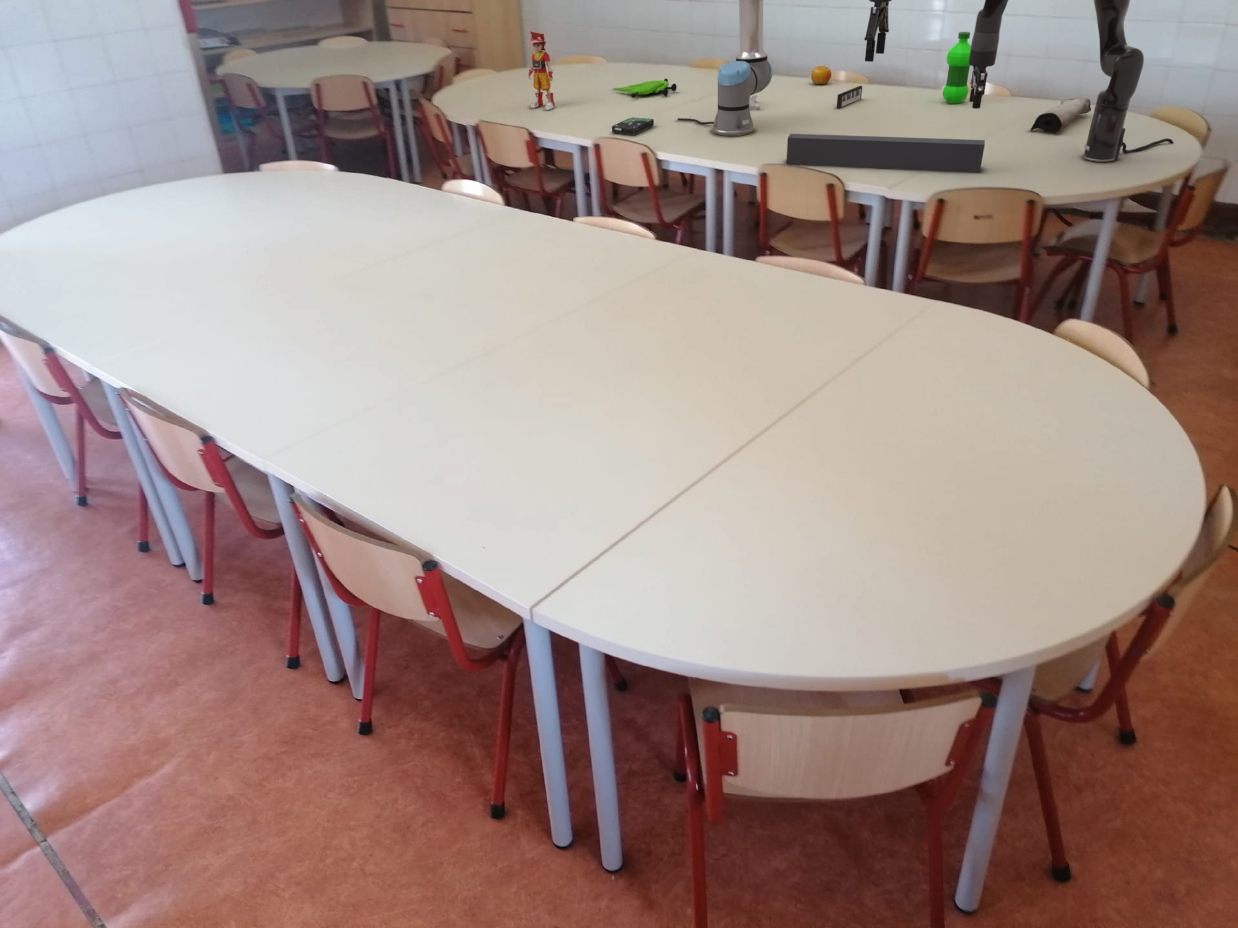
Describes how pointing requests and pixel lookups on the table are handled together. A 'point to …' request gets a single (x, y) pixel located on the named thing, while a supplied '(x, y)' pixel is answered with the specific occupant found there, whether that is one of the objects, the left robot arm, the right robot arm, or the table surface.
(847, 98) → the midi keyboard
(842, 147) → the beam
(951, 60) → the plastic bottle
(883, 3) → the left robot arm
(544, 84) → the toy
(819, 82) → the fruit
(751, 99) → the anatomical model
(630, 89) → the toy
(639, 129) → the disk drive
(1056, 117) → the rolled mat
